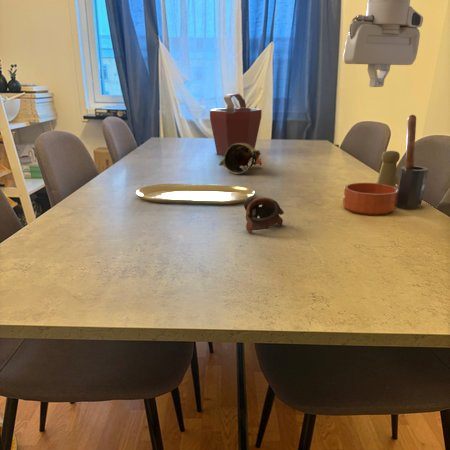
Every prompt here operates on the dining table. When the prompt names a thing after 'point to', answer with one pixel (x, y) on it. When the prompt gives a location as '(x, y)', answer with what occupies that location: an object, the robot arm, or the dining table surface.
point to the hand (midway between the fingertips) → (376, 86)
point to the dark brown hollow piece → (262, 213)
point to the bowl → (370, 198)
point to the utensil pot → (411, 187)
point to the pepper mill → (389, 168)
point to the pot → (240, 158)
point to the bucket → (234, 124)
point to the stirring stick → (410, 142)
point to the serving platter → (195, 194)
